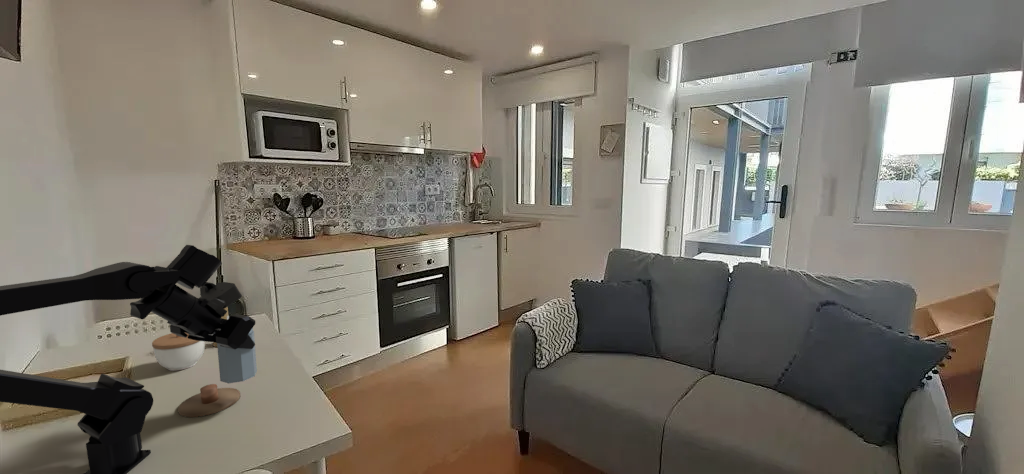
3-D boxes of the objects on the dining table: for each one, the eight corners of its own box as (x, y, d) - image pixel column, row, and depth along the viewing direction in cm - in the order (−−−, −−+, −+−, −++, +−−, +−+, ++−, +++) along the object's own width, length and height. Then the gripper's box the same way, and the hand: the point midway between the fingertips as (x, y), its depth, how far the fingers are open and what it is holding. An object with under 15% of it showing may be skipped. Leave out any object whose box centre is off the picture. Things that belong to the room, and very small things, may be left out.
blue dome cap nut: (253, 379, 88) (249, 334, 86) (217, 385, 85) (213, 337, 84) (258, 367, 93) (255, 324, 92) (225, 372, 91) (221, 328, 90)
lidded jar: (179, 376, 103) (174, 340, 102) (144, 373, 105) (139, 337, 104) (217, 358, 114) (214, 325, 112) (185, 355, 116) (181, 322, 114)
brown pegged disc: (221, 415, 86) (219, 399, 86) (164, 418, 85) (162, 401, 85) (250, 389, 97) (248, 374, 96) (200, 391, 96) (198, 376, 96)
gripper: (242, 276, 79) (295, 316, 91) (181, 268, 86) (237, 306, 98) (201, 330, 73) (264, 365, 84) (139, 316, 80) (205, 350, 92)
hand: (243, 344), depth 90 cm, fingers closed on blue dome cap nut, 6 cm apart
